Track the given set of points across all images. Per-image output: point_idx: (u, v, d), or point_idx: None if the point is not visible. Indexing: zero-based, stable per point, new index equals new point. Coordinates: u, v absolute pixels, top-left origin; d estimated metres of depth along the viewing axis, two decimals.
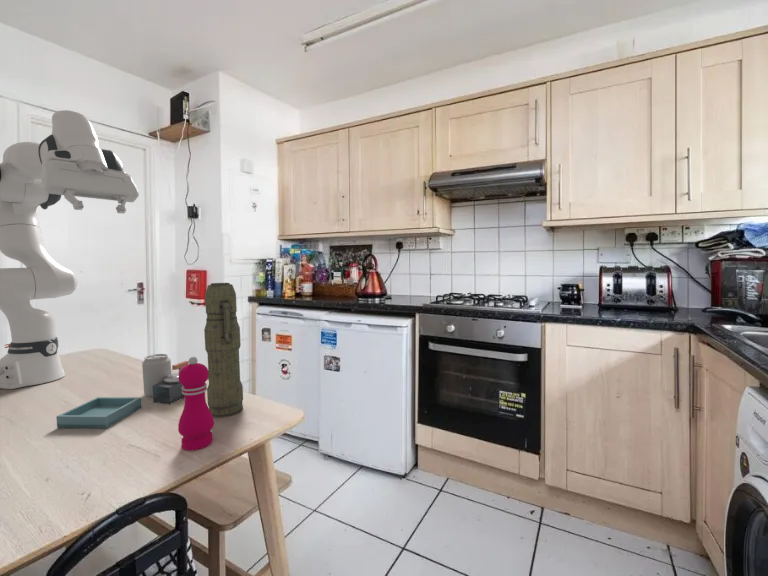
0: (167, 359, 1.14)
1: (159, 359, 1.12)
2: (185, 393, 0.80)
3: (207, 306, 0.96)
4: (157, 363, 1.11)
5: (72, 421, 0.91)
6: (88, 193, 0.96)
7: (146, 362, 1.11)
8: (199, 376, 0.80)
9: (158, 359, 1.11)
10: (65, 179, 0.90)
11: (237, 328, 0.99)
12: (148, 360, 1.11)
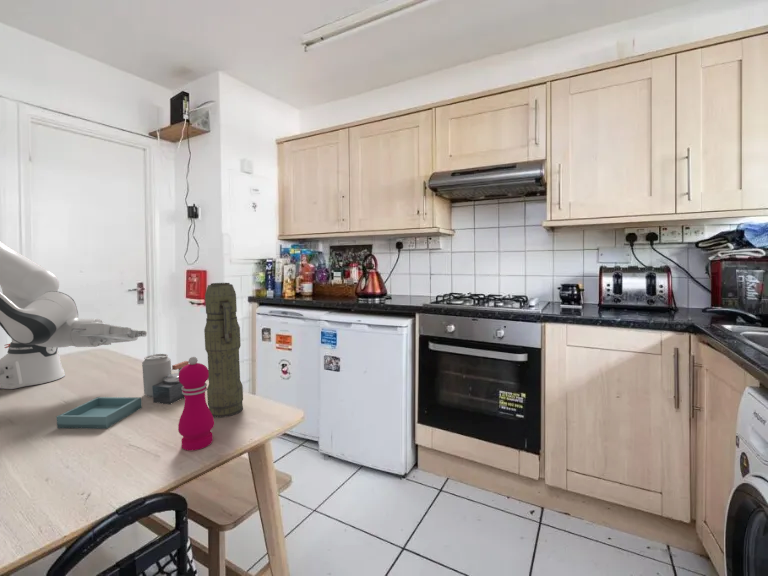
0: (167, 359, 1.14)
1: (159, 359, 1.12)
2: (185, 393, 0.80)
3: (207, 306, 0.96)
4: (157, 363, 1.11)
5: (72, 421, 0.91)
6: None
7: (146, 362, 1.11)
8: (199, 376, 0.80)
9: (158, 359, 1.11)
10: None
11: (237, 328, 0.99)
12: (148, 360, 1.11)
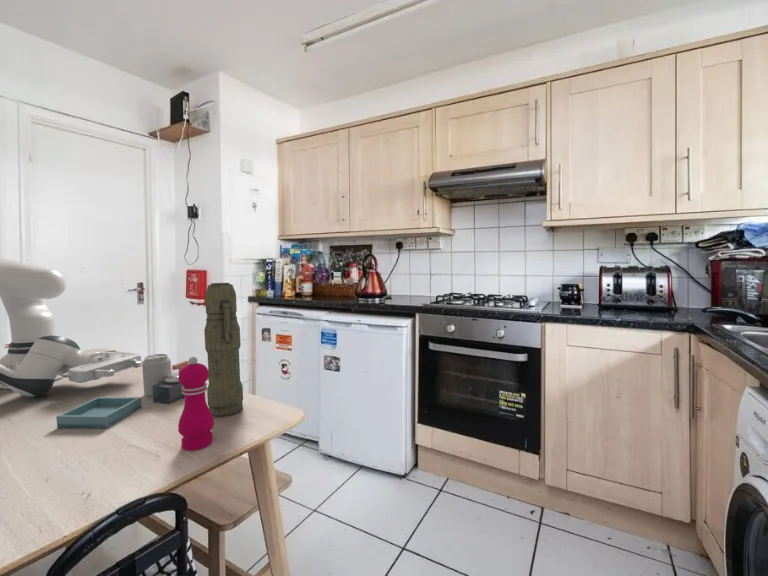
0: (167, 359, 1.14)
1: (159, 359, 1.12)
2: (185, 393, 0.80)
3: (207, 306, 0.96)
4: (157, 363, 1.11)
5: (72, 421, 0.91)
6: (116, 364, 1.20)
7: (146, 362, 1.11)
8: (199, 376, 0.80)
9: (158, 359, 1.11)
10: None
11: (237, 328, 0.99)
12: (148, 360, 1.11)
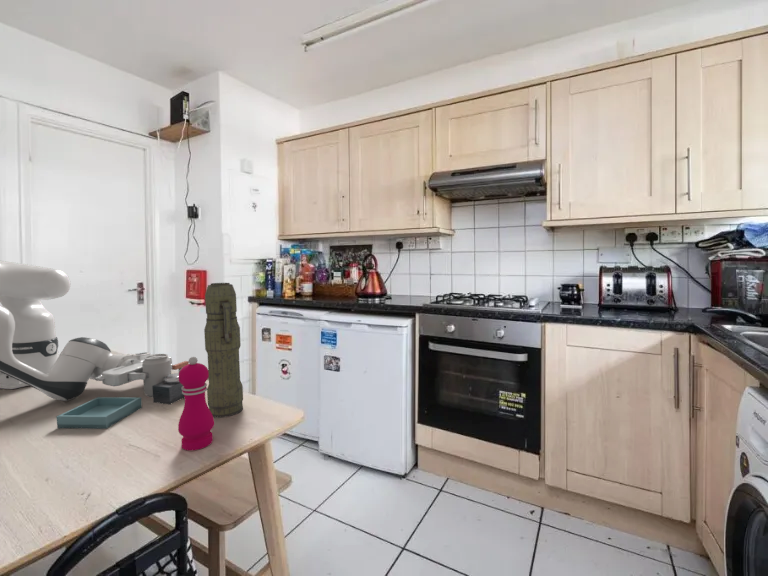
0: (167, 359, 1.14)
1: (159, 359, 1.12)
2: (185, 393, 0.80)
3: (207, 306, 0.96)
4: (157, 363, 1.11)
5: (72, 421, 0.91)
6: None
7: (146, 362, 1.11)
8: (199, 376, 0.80)
9: (158, 359, 1.11)
10: None
11: (237, 328, 0.99)
12: (148, 360, 1.11)
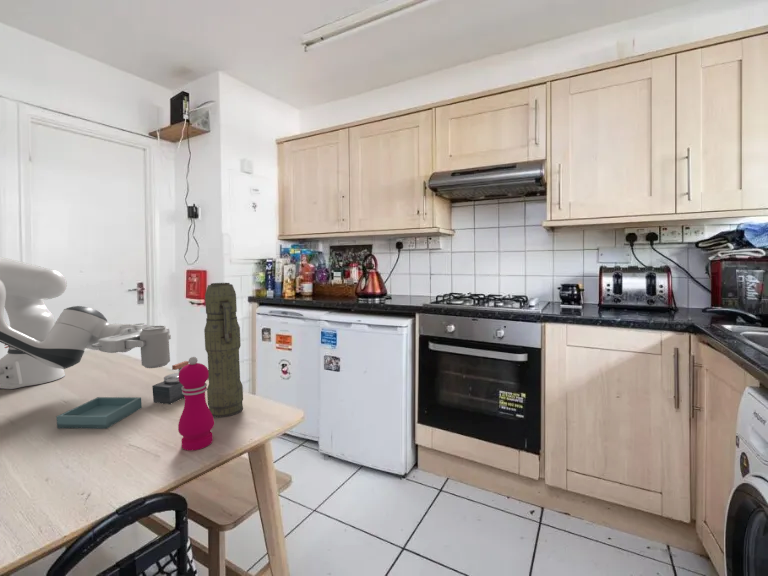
0: (165, 330, 1.13)
1: (157, 330, 1.11)
2: (185, 393, 0.80)
3: (207, 306, 0.96)
4: (155, 334, 1.10)
5: (72, 421, 0.91)
6: None
7: (144, 332, 1.10)
8: (199, 376, 0.80)
9: (156, 330, 1.11)
10: None
11: (237, 328, 0.99)
12: (146, 330, 1.10)
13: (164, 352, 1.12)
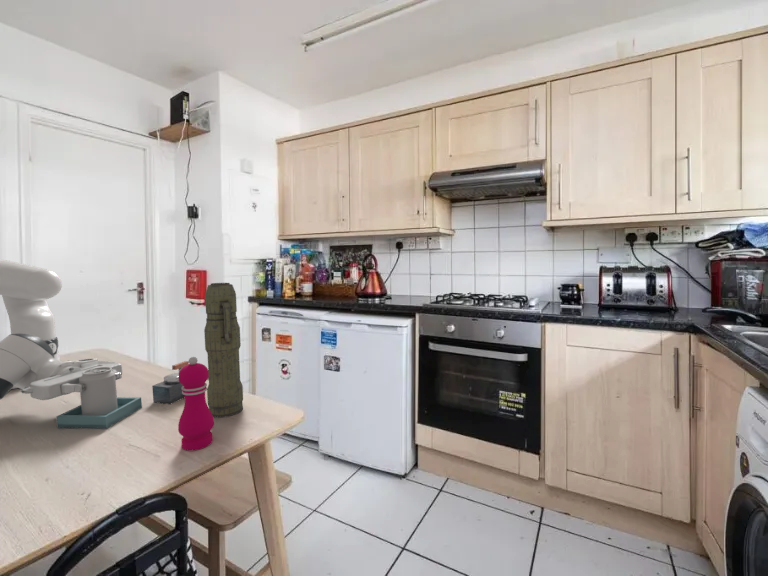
0: (111, 373, 0.97)
1: (100, 374, 0.95)
2: (185, 393, 0.80)
3: (207, 306, 0.96)
4: (98, 379, 0.94)
5: (72, 421, 0.91)
6: None
7: (84, 378, 0.93)
8: (199, 376, 0.80)
9: (99, 374, 0.94)
10: None
11: (237, 328, 0.99)
12: (86, 375, 0.93)
13: (110, 399, 0.96)
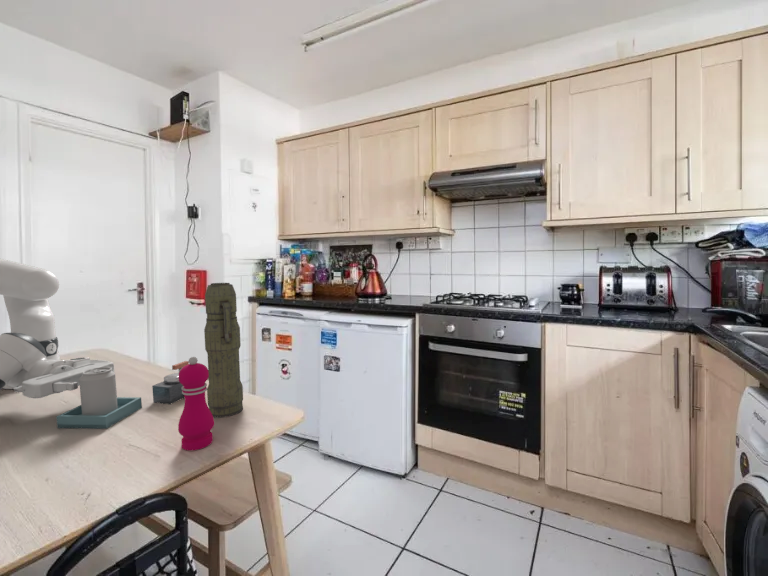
0: (111, 373, 0.97)
1: (100, 374, 0.95)
2: (185, 393, 0.80)
3: (207, 306, 0.96)
4: (98, 379, 0.94)
5: (72, 421, 0.91)
6: (82, 374, 1.01)
7: (84, 378, 0.93)
8: (199, 376, 0.80)
9: (99, 374, 0.94)
10: None
11: (237, 328, 0.99)
12: (86, 375, 0.93)
13: (110, 399, 0.96)
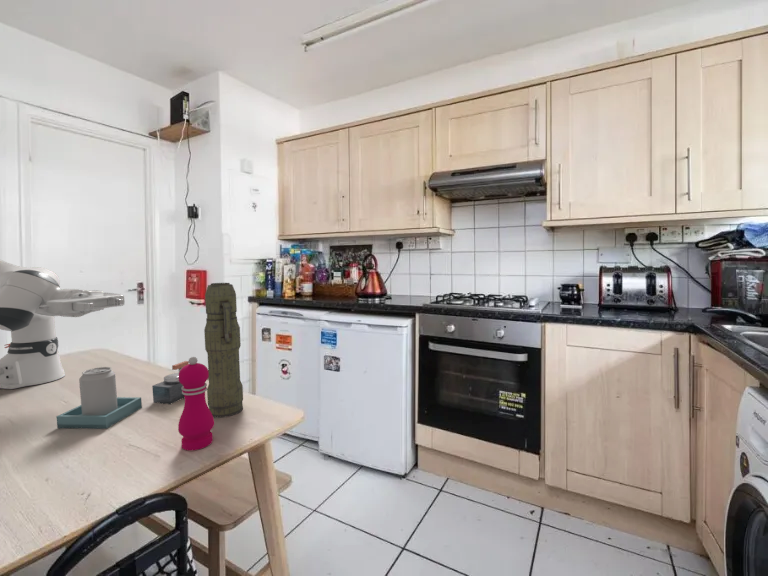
0: (111, 373, 0.97)
1: (100, 374, 0.95)
2: (185, 393, 0.80)
3: (207, 306, 0.96)
4: (98, 379, 0.94)
5: (72, 421, 0.91)
6: (97, 300, 1.15)
7: (84, 378, 0.93)
8: (199, 376, 0.80)
9: (99, 374, 0.94)
10: None
11: (237, 328, 0.99)
12: (86, 375, 0.93)
13: (110, 399, 0.96)
